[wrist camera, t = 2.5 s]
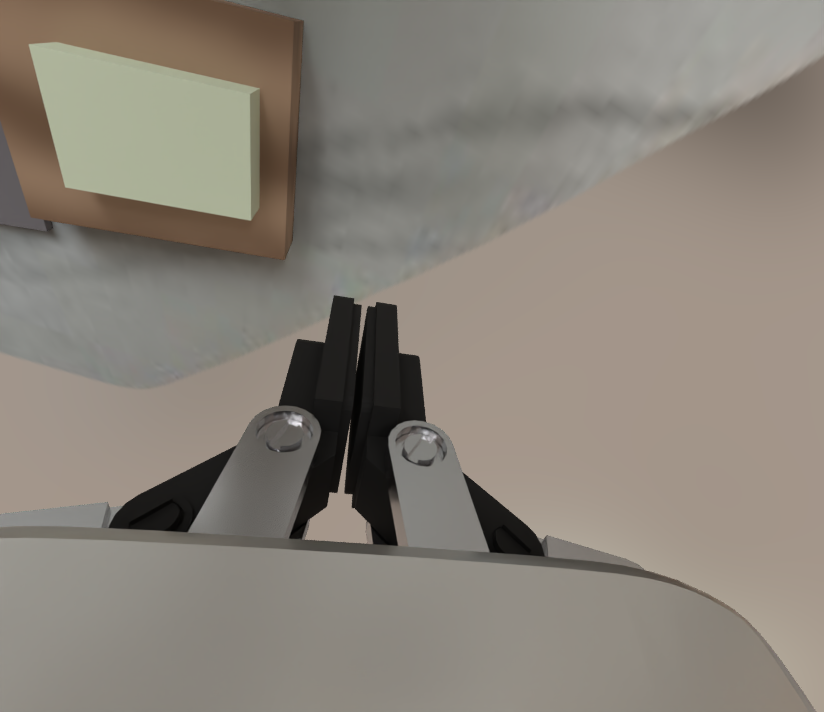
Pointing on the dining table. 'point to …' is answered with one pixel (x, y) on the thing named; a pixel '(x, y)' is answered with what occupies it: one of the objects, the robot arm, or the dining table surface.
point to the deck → (174, 48)
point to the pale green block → (151, 131)
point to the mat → (14, 194)
